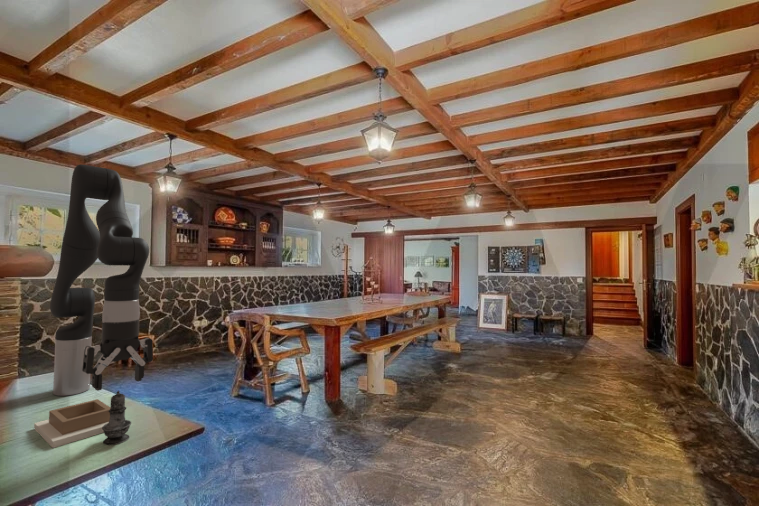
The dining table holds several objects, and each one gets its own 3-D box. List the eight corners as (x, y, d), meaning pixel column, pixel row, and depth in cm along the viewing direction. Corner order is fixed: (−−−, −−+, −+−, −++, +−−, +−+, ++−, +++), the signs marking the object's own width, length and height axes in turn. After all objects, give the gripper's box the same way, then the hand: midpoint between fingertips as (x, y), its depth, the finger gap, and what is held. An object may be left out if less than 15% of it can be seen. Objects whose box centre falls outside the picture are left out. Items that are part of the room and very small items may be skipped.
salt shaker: (96, 441, 91) (98, 391, 91) (122, 431, 96) (124, 384, 96) (109, 448, 88) (111, 396, 88) (135, 437, 93) (137, 389, 94)
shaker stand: (34, 429, 96) (34, 411, 96) (103, 410, 108) (104, 394, 108) (52, 448, 87) (53, 428, 88) (125, 425, 100) (126, 408, 100)
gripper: (145, 313, 101) (143, 375, 100) (80, 320, 89) (77, 389, 89) (159, 316, 96) (156, 381, 96) (92, 323, 85) (89, 396, 84)
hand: (118, 384), depth 92 cm, fingers open, 8 cm apart
